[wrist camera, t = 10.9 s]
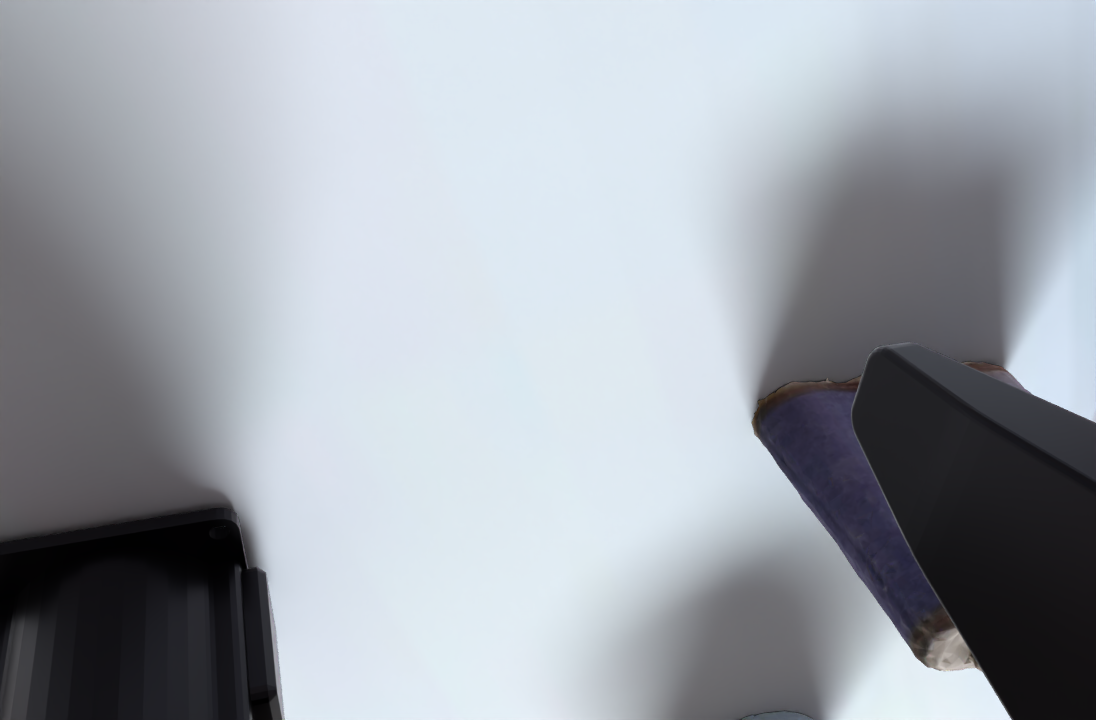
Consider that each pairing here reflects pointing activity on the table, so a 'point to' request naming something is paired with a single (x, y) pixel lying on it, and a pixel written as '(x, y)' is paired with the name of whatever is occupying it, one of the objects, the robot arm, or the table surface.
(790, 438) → the flask
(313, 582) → the table surface
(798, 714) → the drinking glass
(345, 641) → the table surface
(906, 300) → the table surface
